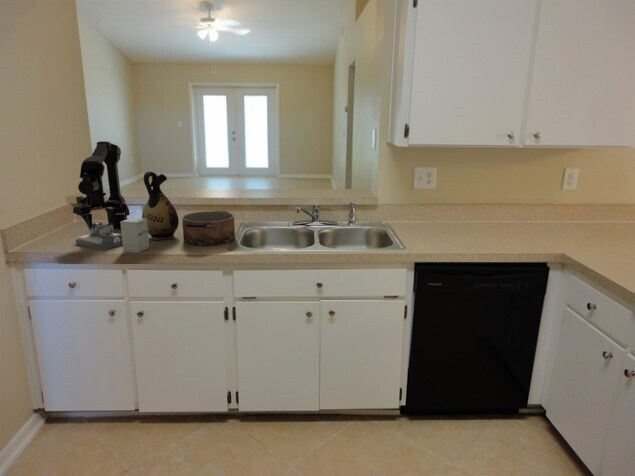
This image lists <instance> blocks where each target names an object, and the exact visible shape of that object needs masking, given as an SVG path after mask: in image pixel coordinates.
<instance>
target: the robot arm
mask: <svg viewBox="0 0 635 476" xmlns="http://www.w3.org/2000/svg"><path fill="white" fill-rule="evenodd" d="M121 154H122V150H121V147H120V146H118V145H117V144H114V143H111V142H110V141H106V140H105V141H97V142H96V146H95V148H94V151H93V152H92V154H91V155H90V156H89V157H86V158H85V159H84V160H83V161H82V163H81V167H80V173H79V178H80V179H82V180H81V181H80V182H79V183H78V185H77V187H78V191H79V192H80V193H81V194H83V195H85V197H83V196H81V195H80V196H76V199H75V201H76V203H77V205H75V206H74V207H73V209H72V213H73V215H74V214H75V215H77V216H80V217H81V218H82V219H83V220H84V223H85V224H86V225H87V227H89V228H88V230H89V229H92V223H93V214H92V213H91V212H92V211H96V210H101V209H102V210H103V209H104V210H105V211H106V215H107V216H106V217H107V224H112V225H113V229H115V230H121V224H120V222H121V221H124V220H127V219H128V216H130V209H129V206H128V205H127V203H126V199H125V198H124V196H123V195H122V193H121V186H120V184H121V183H120V176H119V175H120V174H119V168H118V163H119V162H120V160H121ZM104 164H105V165H106V166H105V165H104ZM105 168H106V172H107V181H108V189H109V197H108V199H107V200H105V196H107V193H106V192H105V191H104V185H103V177H104V174H105V173H104V172H105Z"/></svg>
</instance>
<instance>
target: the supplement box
mask: <svg viewBox="0 0 635 476" xmlns="http://www.w3.org/2000/svg"><path fill="white" fill-rule="evenodd" d="M120 224H121V229H120V231H121V233H120V234H122V243H123V245H122V251H123V252H125V253H135V254H137V253H138V254H140V253H141V252H143V251H145V250H148V249H150V242H149V241H150V240H149V233H148V227H147V219H143V218H142V217H139V218H138V217H130V218H127V220H124V221H121V222H120Z"/></svg>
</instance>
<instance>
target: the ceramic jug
mask: <svg viewBox="0 0 635 476" xmlns="http://www.w3.org/2000/svg"><path fill="white" fill-rule="evenodd" d="M150 178H151V182H150ZM167 180H168V177H167V176H166V175H165V174H163V173H160V174H156V173H155V172H153V171H147V172H145V173H144V175H143V183H144V185H145V188H146V191H147V193H148V197H149V198H148V199H147V201H146V203H145V205H144V208H143V210H142V213H141V214H142V215H141V218H143V219H147V227H148V235H149V236H150V237H151V238H152V240H154V241H157V240H158V241H159V240H169V239H173V238H175V233H176V231H177V229H178V227H179V224H180V221H179V215H178V212H177V209H176V208H175V206H174V205H173V203H172V202H171V201H170V199H169V198H168V197H167V196H166V195H165V194H164V193H163V191H162V189H161V185H162V184H163V183H164V182H166V181H167Z"/></svg>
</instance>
